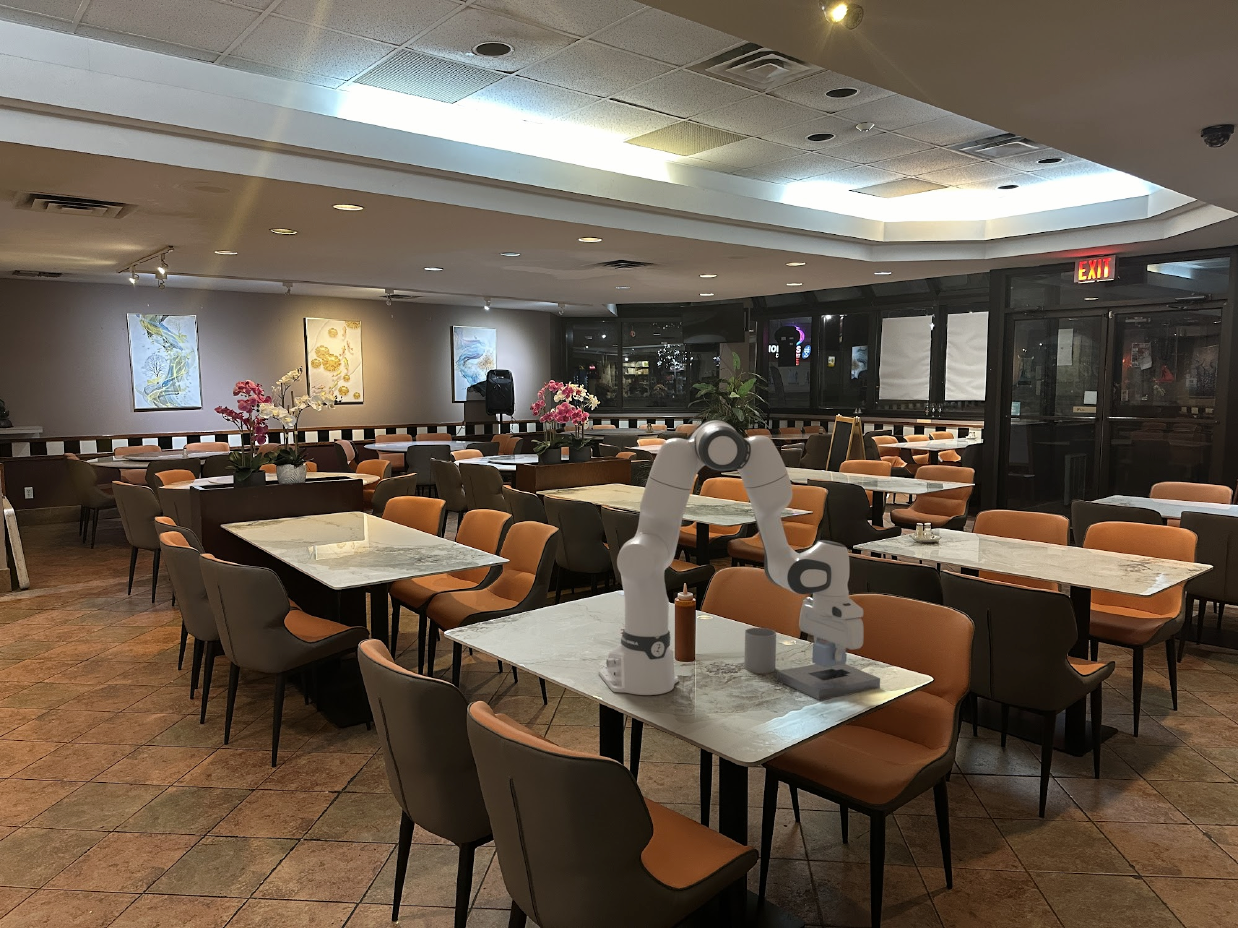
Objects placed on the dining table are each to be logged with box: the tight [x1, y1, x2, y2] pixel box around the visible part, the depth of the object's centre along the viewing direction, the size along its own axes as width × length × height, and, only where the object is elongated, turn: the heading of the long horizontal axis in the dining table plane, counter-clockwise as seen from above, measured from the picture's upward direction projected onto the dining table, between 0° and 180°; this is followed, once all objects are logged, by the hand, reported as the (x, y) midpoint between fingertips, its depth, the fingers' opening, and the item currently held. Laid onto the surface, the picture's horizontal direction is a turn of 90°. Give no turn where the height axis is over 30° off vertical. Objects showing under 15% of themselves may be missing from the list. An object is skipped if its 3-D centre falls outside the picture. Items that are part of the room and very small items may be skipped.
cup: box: [743, 627, 777, 674], centre depth 220 cm, size 8×8×10 cm
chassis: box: [776, 663, 881, 701], centre depth 208 cm, size 16×20×2 cm
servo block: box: [812, 640, 848, 668], centre depth 208 cm, size 4×8×6 cm, turn 117°
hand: (828, 656), depth 207 cm, fingers closed on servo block, 4 cm apart
